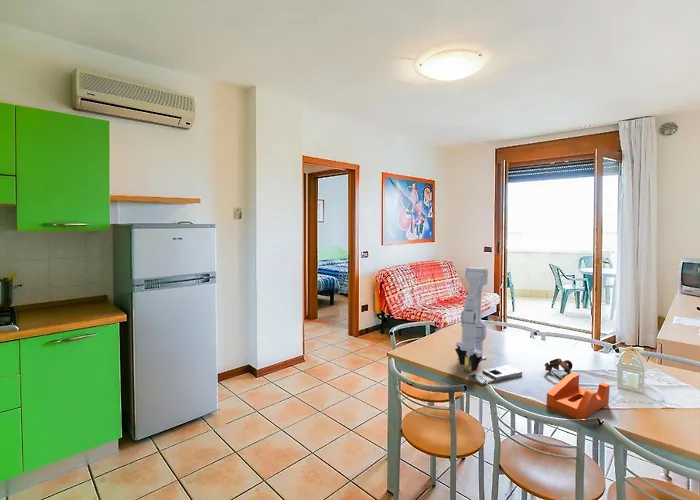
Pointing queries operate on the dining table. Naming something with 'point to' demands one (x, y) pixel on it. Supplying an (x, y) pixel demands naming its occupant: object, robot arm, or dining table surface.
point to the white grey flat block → (501, 374)
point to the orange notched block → (577, 397)
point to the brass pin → (467, 364)
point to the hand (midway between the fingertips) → (468, 367)
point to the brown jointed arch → (563, 364)
